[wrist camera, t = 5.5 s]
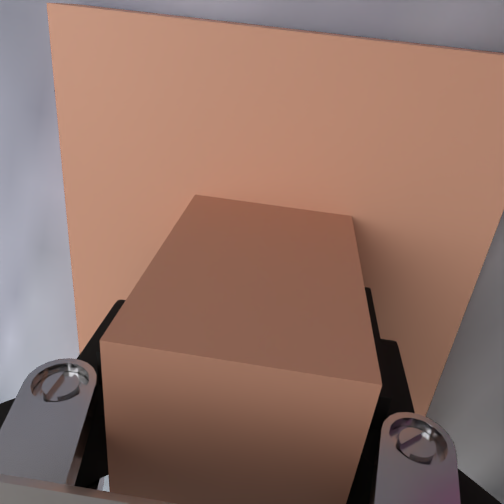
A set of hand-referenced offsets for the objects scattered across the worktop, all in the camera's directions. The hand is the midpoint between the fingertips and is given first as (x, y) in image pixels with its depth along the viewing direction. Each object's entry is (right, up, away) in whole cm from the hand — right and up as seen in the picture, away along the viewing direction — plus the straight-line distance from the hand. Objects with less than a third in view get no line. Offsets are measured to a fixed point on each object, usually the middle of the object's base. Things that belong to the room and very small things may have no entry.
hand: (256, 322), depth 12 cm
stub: (0, +1, +2) cm, 2 cm away
